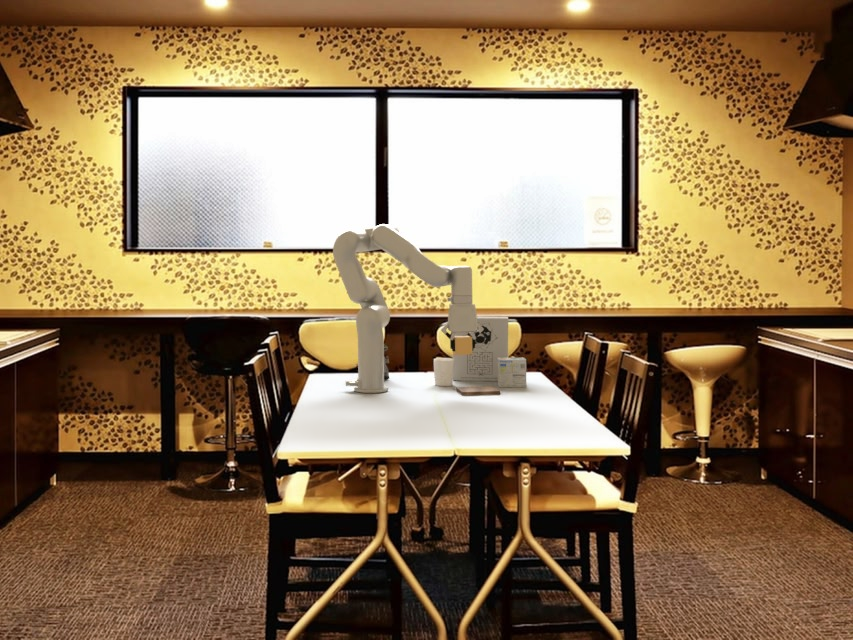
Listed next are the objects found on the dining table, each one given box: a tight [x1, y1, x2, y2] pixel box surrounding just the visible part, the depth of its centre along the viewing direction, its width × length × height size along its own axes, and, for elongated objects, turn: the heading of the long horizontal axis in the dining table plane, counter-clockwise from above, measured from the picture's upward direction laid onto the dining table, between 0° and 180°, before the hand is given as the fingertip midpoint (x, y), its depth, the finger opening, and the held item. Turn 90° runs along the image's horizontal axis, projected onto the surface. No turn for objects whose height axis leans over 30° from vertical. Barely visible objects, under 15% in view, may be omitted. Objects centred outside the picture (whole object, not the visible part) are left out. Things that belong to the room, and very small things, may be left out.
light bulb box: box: [497, 356, 527, 388], centre depth 351 cm, size 11×7×11 cm, turn 92°
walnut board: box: [455, 385, 501, 396], centre depth 337 cm, size 14×11×1 cm
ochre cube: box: [452, 336, 472, 355], centre depth 331 cm, size 6×6×6 cm
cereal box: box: [452, 316, 509, 382], centre depth 367 cm, size 22×8×25 cm, turn 84°
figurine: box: [355, 343, 390, 380], centre depth 367 cm, size 9×12×15 cm
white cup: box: [433, 357, 454, 387], centre depth 354 cm, size 8×8×10 cm
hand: (462, 350), depth 331 cm, fingers closed on ochre cube, 6 cm apart
